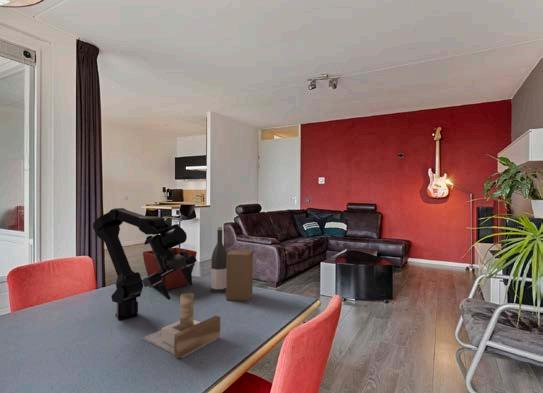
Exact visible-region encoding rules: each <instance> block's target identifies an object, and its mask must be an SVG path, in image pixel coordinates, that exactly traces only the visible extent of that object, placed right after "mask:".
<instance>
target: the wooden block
mask: <svg viewBox="0 0 543 393" xmlns="http://www.w3.org/2000/svg"><path fill="white" fill-rule="evenodd" d="M253 263H254V250H247V249H245V250H243V249H232V250H230V251H229V252H227V266H226V291H225V300H226V301H235V302H236V301H238V302H239V301H240V302H249V301H250V299H251V297H252V295H253V284H254V283H253V282H254V280H253V277H254V276H253V275H254V274H253V272H254V269H253V266H254V264H253Z"/></svg>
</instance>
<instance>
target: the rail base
mask: <svg viewBox="0 0 543 393" xmlns="http://www.w3.org/2000/svg"><path fill="white" fill-rule="evenodd" d="M199 322H200V323H198V324H196V325H194V326H191V327H189V328H187V329H185V330H183V331H180V332H178V333H176V334H174V346H172V345H170V344H167V343H165V342H163V341H161V330H158V331H156V332H153V333H151V334H148V335H145V336H144V337H142V340H143V341H145V342H147V343H149V344H151V345H153V346H156V347H158V348H160V349H161V350H163V351H165V352H168V353H170V354H171V355H173V356H175V357H176V358H178V359H183V358H186V357H187V356H188V355H191V354H192V353H195V352H196V351H199V349H202V348H203V347H205V346H208V345H209V344H211V343H213V342H215V341H217V340H218V338H219V337H220V336H221V316H218V315H214V316H212V317H209V318H208V319H205V320H203V321H199Z"/></svg>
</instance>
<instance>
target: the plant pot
mask: <svg viewBox="0 0 543 393" xmlns="http://www.w3.org/2000/svg"><path fill="white" fill-rule="evenodd" d="M169 249H170V248H169ZM171 250H174V251H175V253H176V254H177V255H178V254H180V252H181V251H184V250H186V251H187V252H188V254H189V256H190V255H193V256H195V257H196V258H197V252H198V251H197V250H192V249H188V248H187V249H186V248H183V247H177V246H175V247H172V248H171ZM142 257H143V262H144V263H143V264H144V266H145V270H146V274H147V277H148V276H150V275H152V274H154V273H160V271H159V269H160V266H159V264H158V262H157V261H155V259H154V258H156V257H155V255H154V253H153V250H152V249H151V250H145V251H142ZM194 263H195V264H196V262H194ZM194 263H193V264H194ZM194 267H195V265H194V266H193V268H192V272H193V270H194ZM181 269H182V267H181V268H180V269H178V270H175V271H173V272H171V273H170V274H168V275H166V276H164V277H162V279H161V281H163V280H164V285H165V287H166V289H167V291H169V290H173V289H176V288H177V289H178V288H181V287H184V286H185V287H186V286H187V285H189V284H188V283H187V281H186V279H185V277H184V275H183V273H182V271H181ZM168 270H169V269H168ZM168 270H167V271H168Z"/></svg>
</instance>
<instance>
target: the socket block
mask: <svg viewBox="0 0 543 393" xmlns="http://www.w3.org/2000/svg"><path fill="white" fill-rule="evenodd" d="M200 322H201V321H198V320H195V319H194V325H196V324H198V323H200ZM178 332H180V320H178V321H176V322H174V323H171V324H169V325H166V326H164V327H161V341H163V342H165V343H167V344H170V345H172V346H174V334H176V333H178Z"/></svg>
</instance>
